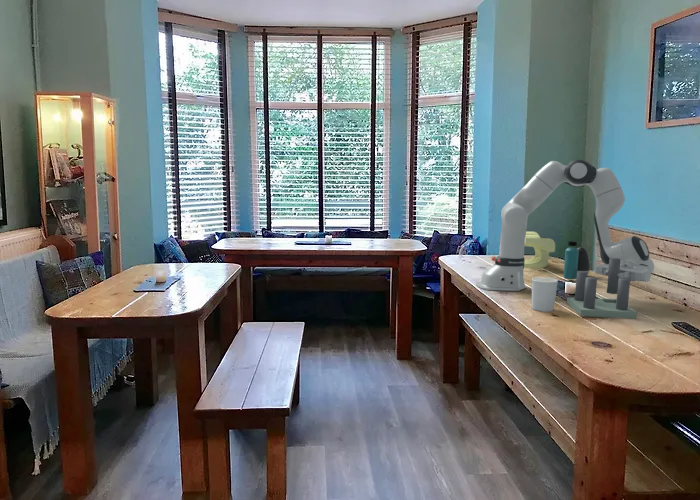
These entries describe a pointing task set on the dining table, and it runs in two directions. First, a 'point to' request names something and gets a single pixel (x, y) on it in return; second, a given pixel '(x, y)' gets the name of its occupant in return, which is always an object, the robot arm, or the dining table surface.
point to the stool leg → (613, 275)
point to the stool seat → (595, 307)
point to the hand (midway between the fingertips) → (612, 274)
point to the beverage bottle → (571, 261)
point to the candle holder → (543, 293)
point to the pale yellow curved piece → (538, 250)
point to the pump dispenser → (583, 260)
